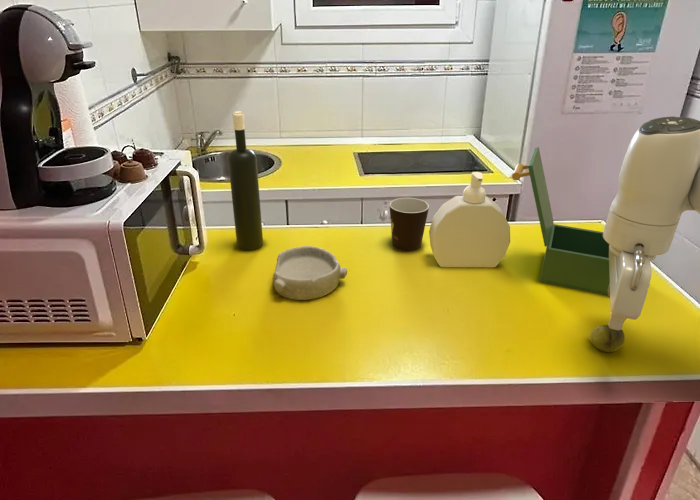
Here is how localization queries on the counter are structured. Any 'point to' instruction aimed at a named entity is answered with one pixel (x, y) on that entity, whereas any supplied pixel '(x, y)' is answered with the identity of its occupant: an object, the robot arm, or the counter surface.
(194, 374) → the counter surface
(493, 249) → the soap bottle
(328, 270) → the dish
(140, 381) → the counter surface
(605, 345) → the lime
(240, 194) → the wine bottle
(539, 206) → the lid
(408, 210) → the coffee mug
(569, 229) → the green box
